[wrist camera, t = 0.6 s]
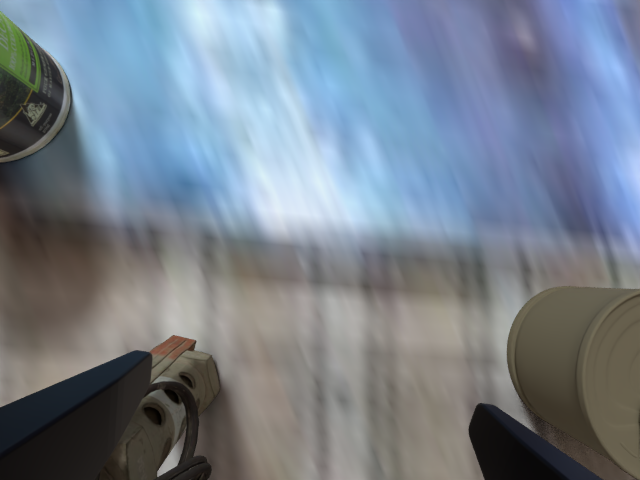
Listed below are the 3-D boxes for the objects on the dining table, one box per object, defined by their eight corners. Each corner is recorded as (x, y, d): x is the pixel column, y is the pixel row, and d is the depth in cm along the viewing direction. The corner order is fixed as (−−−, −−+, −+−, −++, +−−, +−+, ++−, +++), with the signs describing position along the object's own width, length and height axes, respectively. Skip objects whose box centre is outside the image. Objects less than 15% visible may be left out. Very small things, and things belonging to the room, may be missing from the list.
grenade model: (237, 424, 22) (127, 728, 7) (143, 403, 22) (-175, 682, 7) (260, 337, 23) (204, 453, 8) (170, 315, 23) (-63, 397, 8)
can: (646, 308, 26) (769, 321, 20) (621, 449, 25) (745, 516, 18) (522, 265, 26) (604, 262, 19) (488, 406, 24) (565, 459, 17)
